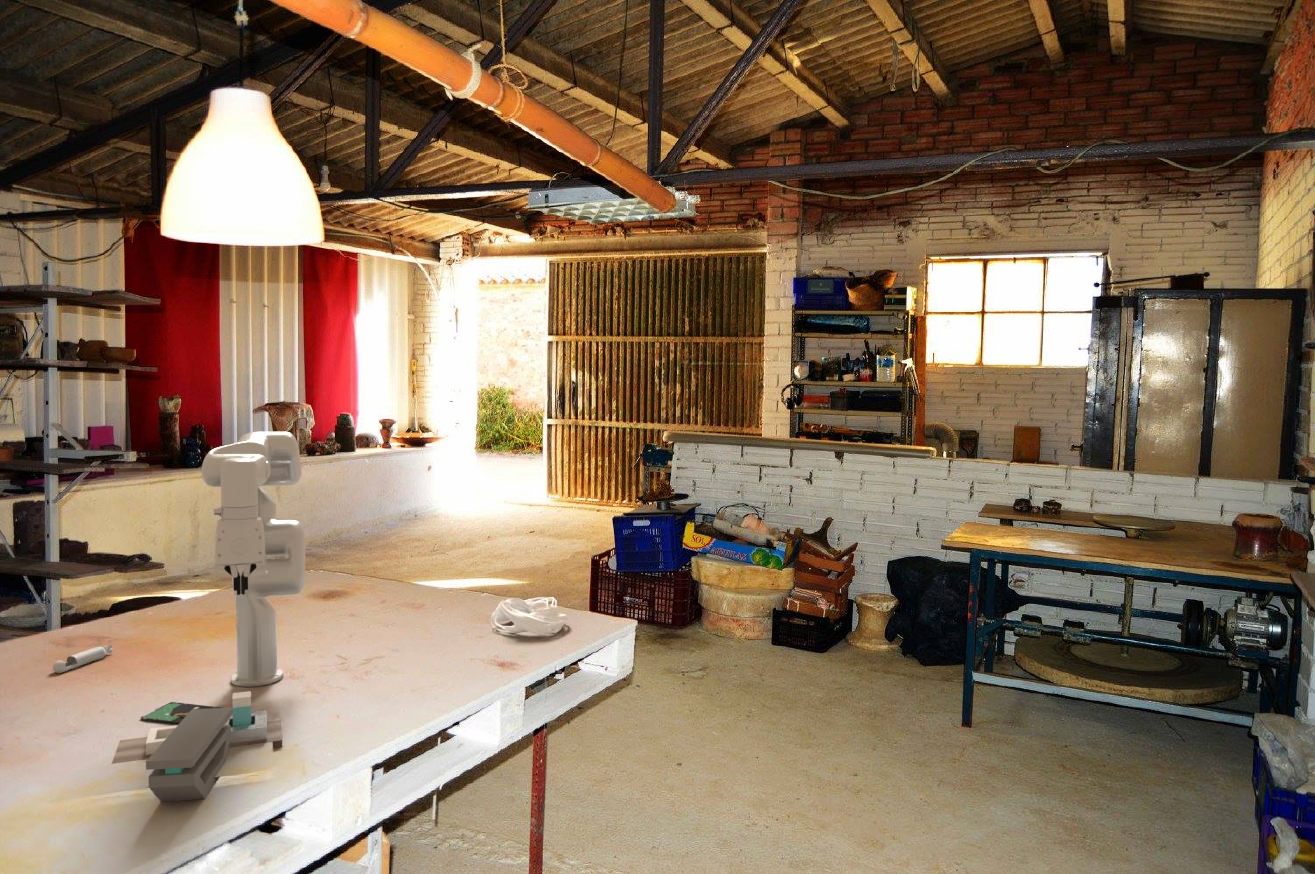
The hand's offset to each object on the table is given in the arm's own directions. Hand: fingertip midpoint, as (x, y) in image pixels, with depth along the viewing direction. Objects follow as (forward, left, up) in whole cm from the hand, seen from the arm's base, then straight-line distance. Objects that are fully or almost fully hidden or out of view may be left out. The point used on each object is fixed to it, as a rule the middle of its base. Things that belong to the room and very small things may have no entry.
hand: (240, 593), depth 204 cm
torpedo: (-61, -40, -32) cm, 80 cm away
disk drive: (-8, -13, -32) cm, 35 cm away
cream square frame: (+9, -14, -29) cm, 34 cm away
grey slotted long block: (+28, -9, -31) cm, 43 cm away
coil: (-54, +83, -32) cm, 103 cm away
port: (+9, 0, -30) cm, 31 cm away
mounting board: (+9, -8, -31) cm, 33 cm away
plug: (+9, 0, -30) cm, 31 cm away
